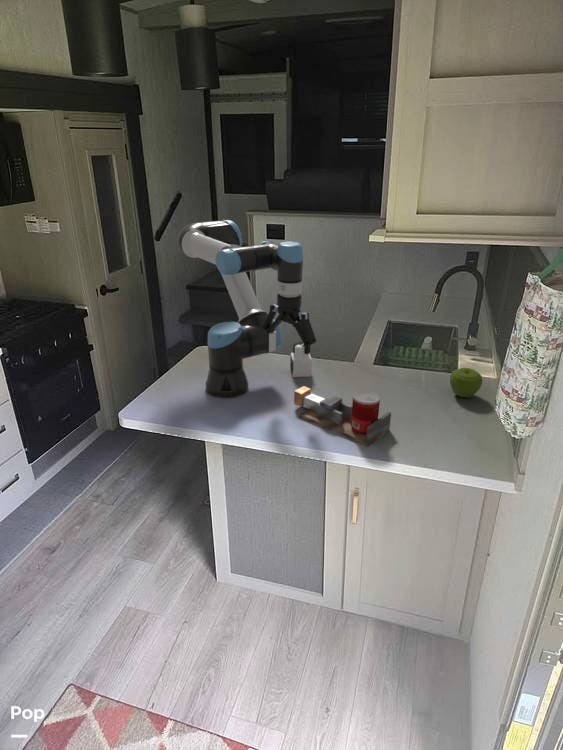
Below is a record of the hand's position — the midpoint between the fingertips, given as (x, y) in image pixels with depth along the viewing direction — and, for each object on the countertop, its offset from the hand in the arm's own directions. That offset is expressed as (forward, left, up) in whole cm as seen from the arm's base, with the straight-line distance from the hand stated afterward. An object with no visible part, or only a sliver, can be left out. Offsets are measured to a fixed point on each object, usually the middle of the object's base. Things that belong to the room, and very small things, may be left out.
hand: (288, 356), depth 169 cm
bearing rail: (+23, 0, -16) cm, 28 cm away
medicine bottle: (-10, +20, -17) cm, 28 cm away
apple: (+44, +43, -17) cm, 64 cm away
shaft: (+12, 0, -15) cm, 19 cm away
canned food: (+30, 0, -15) cm, 34 cm away
